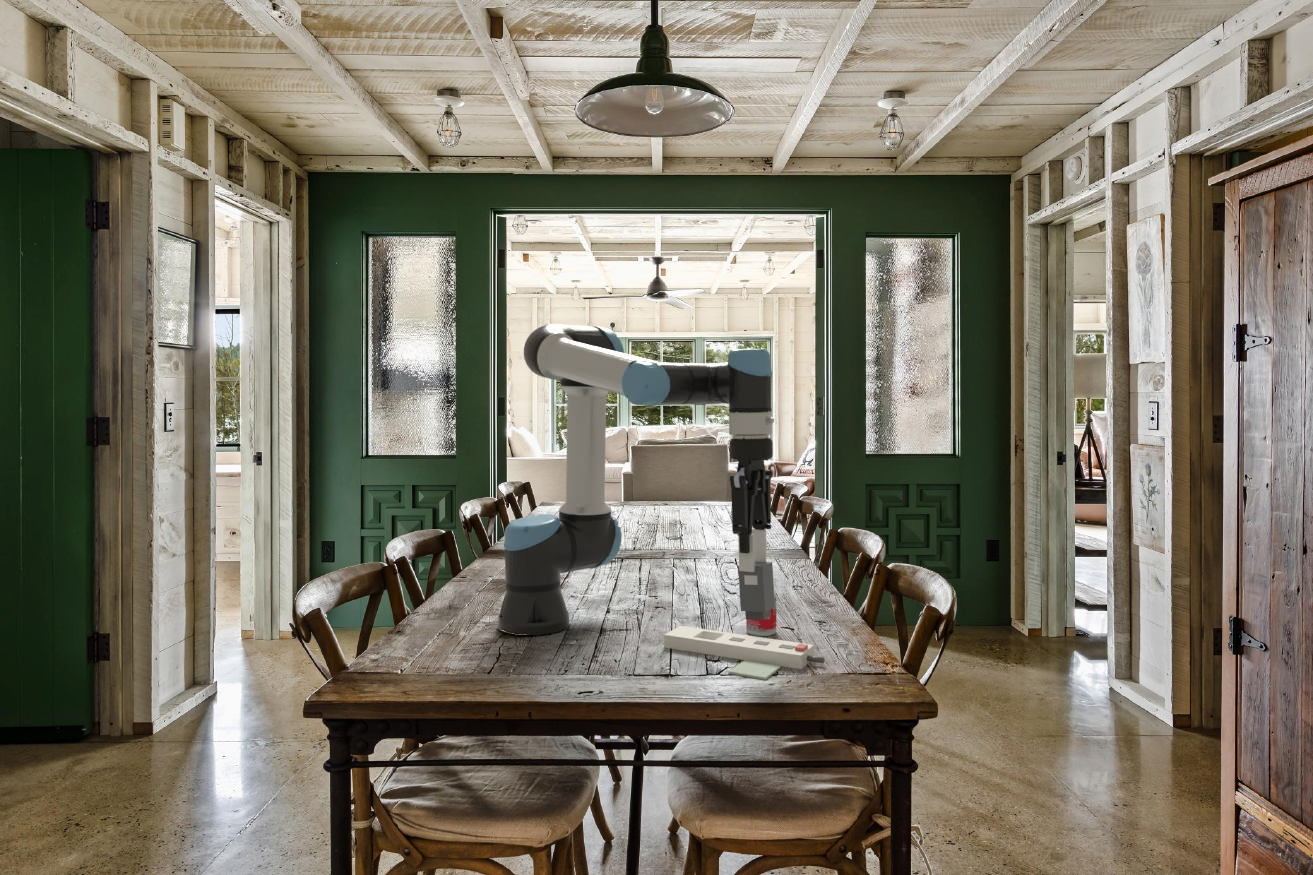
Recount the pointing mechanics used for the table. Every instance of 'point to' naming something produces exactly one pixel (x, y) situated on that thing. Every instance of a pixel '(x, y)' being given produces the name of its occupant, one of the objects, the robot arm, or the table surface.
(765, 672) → the felt pad
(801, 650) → the power strip
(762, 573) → the block
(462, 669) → the table surface
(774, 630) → the pill bottle
